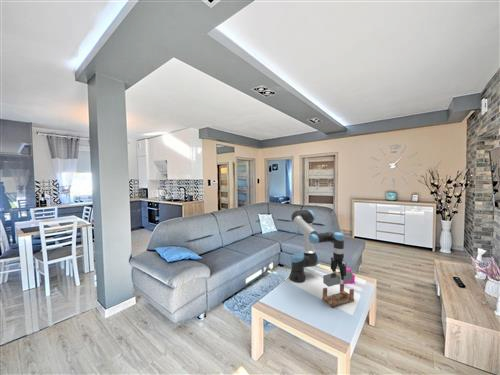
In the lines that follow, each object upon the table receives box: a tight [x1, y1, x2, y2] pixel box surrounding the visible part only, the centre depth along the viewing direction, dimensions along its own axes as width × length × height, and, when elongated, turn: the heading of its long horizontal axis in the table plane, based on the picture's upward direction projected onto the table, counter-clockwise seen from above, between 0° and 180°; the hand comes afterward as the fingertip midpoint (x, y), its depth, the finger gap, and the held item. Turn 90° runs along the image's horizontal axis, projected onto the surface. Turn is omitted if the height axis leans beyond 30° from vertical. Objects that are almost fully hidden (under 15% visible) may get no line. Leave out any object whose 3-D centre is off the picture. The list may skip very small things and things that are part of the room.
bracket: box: [344, 266, 356, 285], centre depth 195 cm, size 12×10×10 cm
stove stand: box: [321, 283, 355, 309], centre depth 165 cm, size 11×22×10 cm, turn 113°
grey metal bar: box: [322, 270, 354, 287], centre depth 165 cm, size 24×6×6 cm, turn 113°
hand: (338, 281), depth 165 cm, fingers closed on grey metal bar, 6 cm apart
